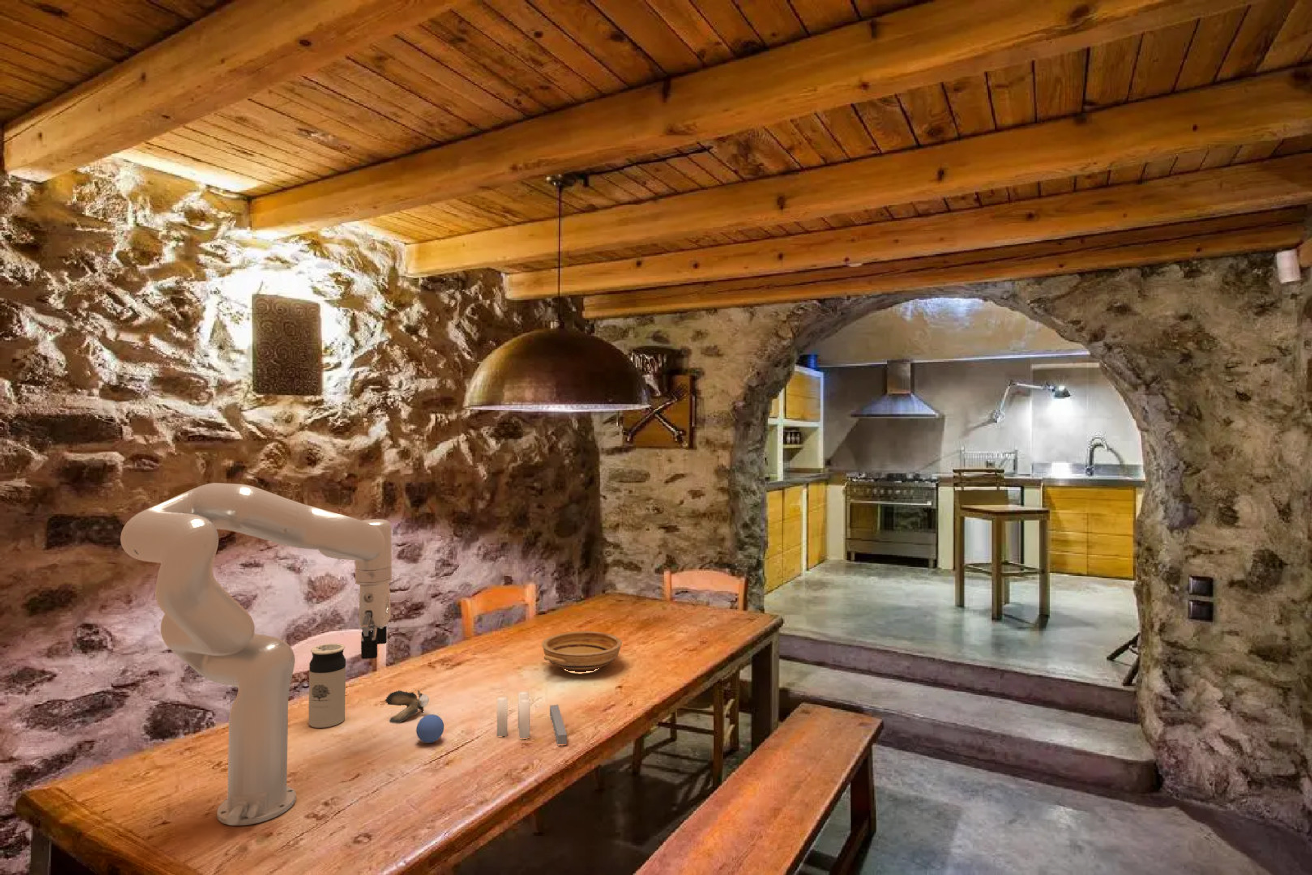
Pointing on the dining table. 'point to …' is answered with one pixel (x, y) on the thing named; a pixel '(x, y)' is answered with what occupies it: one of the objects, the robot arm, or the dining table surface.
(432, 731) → the ball
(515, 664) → the dining table surface
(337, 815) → the dining table surface
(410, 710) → the eagle figurine
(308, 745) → the dining table surface
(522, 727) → the pin
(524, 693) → the pin
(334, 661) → the travel mug
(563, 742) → the gray rectangular bar
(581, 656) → the ceramic bowl
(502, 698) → the front pin
